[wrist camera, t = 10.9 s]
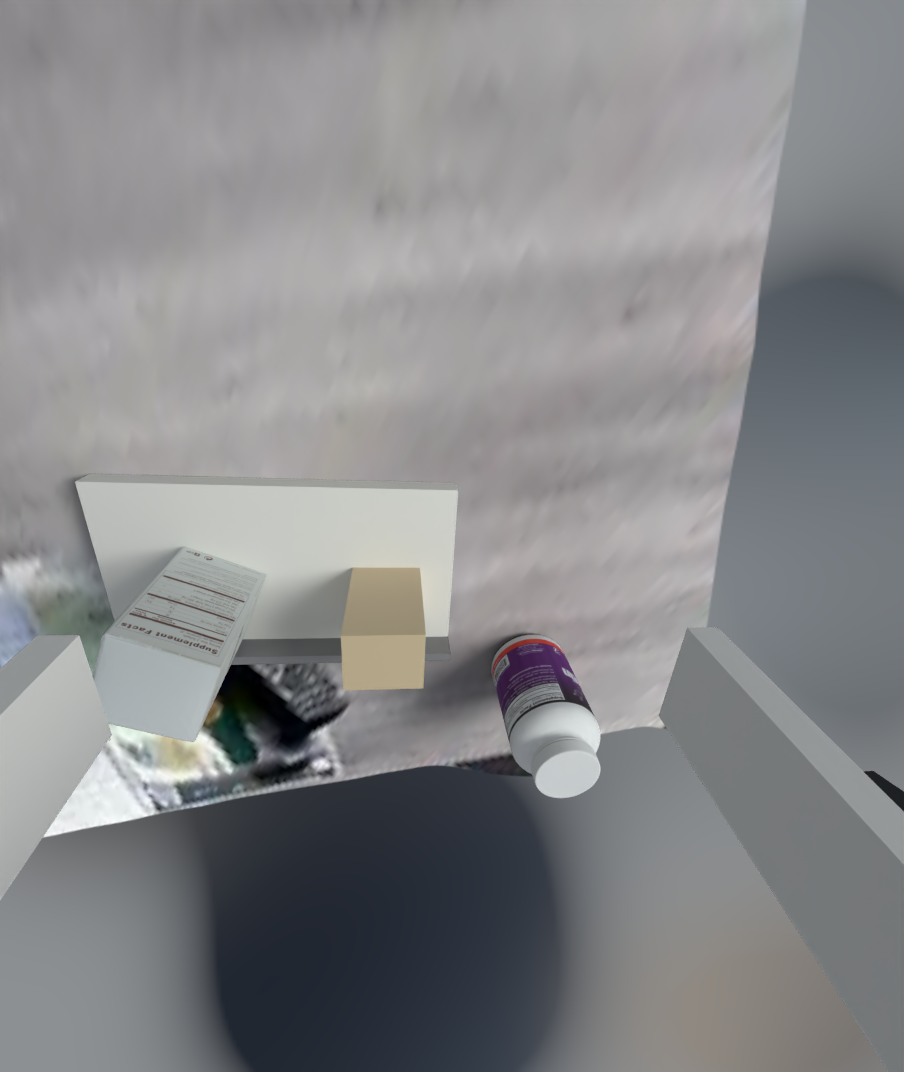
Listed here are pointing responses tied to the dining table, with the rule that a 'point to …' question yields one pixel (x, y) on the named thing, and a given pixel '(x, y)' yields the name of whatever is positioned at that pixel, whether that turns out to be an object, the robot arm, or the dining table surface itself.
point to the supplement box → (175, 645)
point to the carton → (383, 630)
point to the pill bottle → (546, 716)
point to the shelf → (279, 547)
